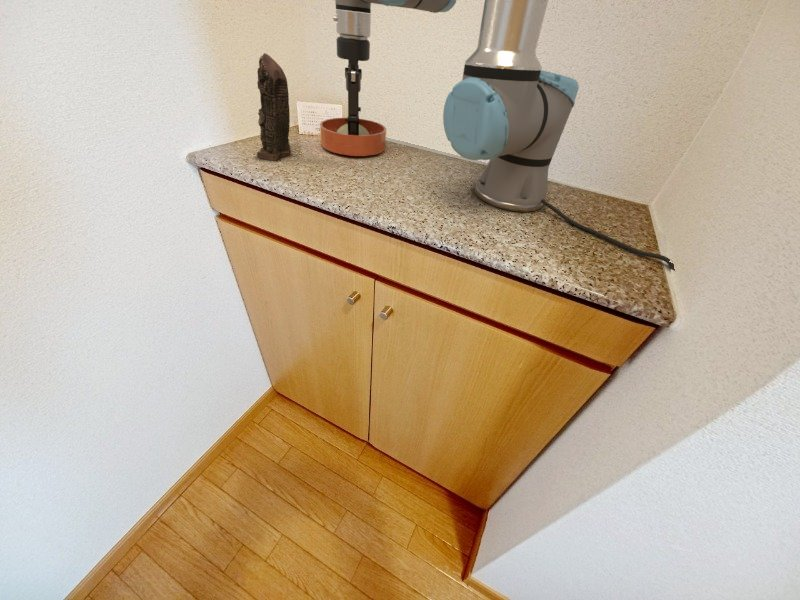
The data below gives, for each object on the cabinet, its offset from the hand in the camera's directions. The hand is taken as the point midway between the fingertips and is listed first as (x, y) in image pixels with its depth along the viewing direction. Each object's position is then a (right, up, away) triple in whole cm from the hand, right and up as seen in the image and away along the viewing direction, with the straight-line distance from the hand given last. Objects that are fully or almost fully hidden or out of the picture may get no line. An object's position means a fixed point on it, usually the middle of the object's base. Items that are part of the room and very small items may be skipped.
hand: (353, 143), depth 87 cm
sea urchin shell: (0, 0, 0) cm, 0 cm away
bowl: (0, -1, +1) cm, 1 cm away
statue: (-17, -8, -9) cm, 21 cm away
